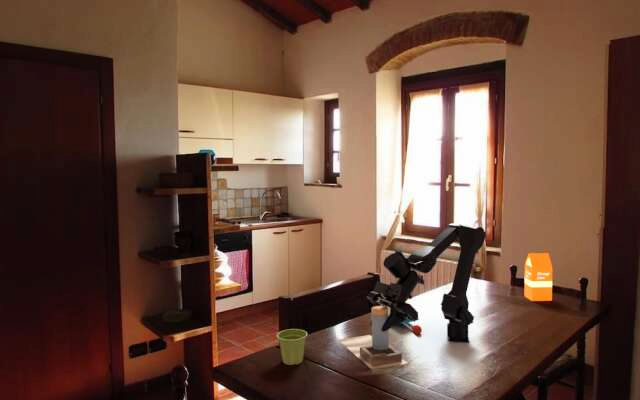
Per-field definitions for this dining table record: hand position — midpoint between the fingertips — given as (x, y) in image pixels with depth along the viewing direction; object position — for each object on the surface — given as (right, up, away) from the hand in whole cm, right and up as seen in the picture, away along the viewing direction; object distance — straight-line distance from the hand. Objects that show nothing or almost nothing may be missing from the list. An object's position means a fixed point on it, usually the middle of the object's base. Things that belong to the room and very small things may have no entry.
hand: (376, 328), depth 146 cm
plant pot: (-26, -11, +3) cm, 28 cm away
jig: (-1, -10, +7) cm, 13 cm away
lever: (+13, -9, +31) cm, 35 cm away
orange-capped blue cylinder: (+1, -6, +1) cm, 6 cm away
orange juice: (+78, -4, +65) cm, 102 cm away
